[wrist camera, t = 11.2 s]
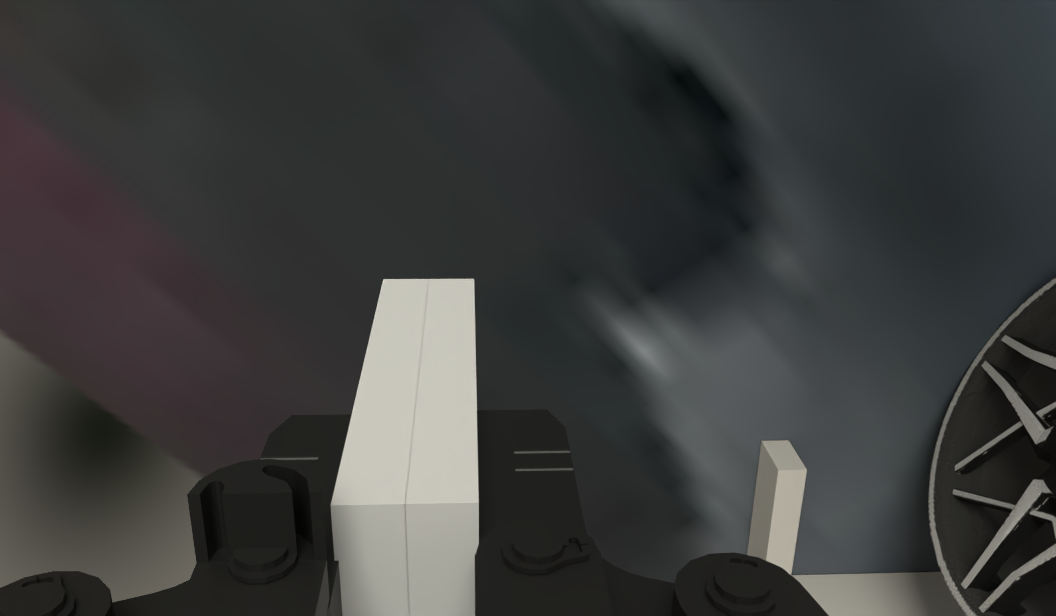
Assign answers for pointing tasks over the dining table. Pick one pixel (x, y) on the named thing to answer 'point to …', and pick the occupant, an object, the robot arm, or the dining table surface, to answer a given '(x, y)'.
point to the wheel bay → (849, 599)
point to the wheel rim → (1001, 471)
